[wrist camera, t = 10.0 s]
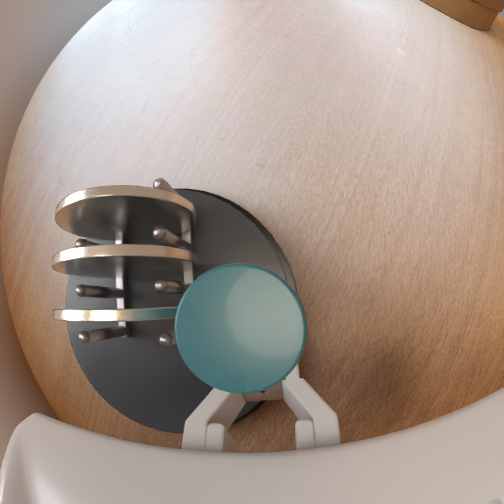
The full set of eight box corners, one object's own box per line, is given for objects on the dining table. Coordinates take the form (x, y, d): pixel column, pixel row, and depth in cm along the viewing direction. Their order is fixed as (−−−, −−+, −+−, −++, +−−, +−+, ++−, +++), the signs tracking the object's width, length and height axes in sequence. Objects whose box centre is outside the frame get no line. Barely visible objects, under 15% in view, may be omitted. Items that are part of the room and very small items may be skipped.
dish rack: (300, 425, 16) (320, 576, 3) (88, 413, 17) (-25, 463, 4) (276, 178, 19) (267, 16, 6) (74, 214, 20) (-42, 156, 7)
